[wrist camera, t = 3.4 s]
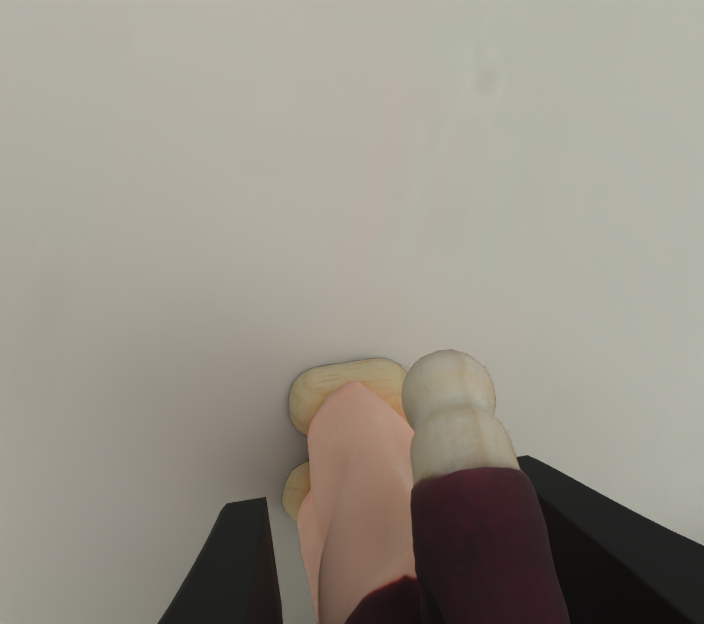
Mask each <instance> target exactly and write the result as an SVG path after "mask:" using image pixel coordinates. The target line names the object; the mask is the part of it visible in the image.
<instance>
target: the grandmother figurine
mask: <svg viewBox="0 0 704 624" xmlns="http://www.w3.org/2000/svg"><path fill="white" fill-rule="evenodd" d="M495 407H496V397H495V391H494V385H493V382H492V380H491V377H490V375H489V373H488V371H487V369H486V367H485V366H484V365H482V364H481V363H480V362H479V361H477V360H476V359H475V358H473V357H471V356H470V355H468V354H467V353H463V352H459V351H455V350H442V351H436V352H434V353H431V354H428V355H426V356H424V357H422V358H420V359H419V360H418V361H416V362H415V363H414V365H413V366H412V367H411V369H410V370H409V372H407V371H406V370H405V369H404V368H403V367H402V366H401V365H399V364H398V363H396V362H393V361H391V360H388V359H381V358H374V359H365V360H357V361H352V362H346V363H340V364H331V365H325V366H320V367H315V368H312V369H310V370H308V371H305V372H304V373H302V374H301V375H300V376H299V377H298V378H297V379H296V380H295V381H294V383H293V385H292V387H291V390H290V394H289V415H290V418H291V421H292V423H293V425H294V426H295V427H296V429H297V430H298V431H299V432H301V433H302V434H304V435H306V436H308V453H309V461H307V462H304V463H303V464H301V465H299V466H298V467H296V468H295V469H294V470H293V471H292V472H291V474H290V475H289V477H288V479H287V481H286V484H285V486H284V490H283V494H282V503H283V507H284V510H285V511H286V513H287V514H288V516H289V517H290V518H291V519H292V520H294V521H295V522H297V528H298V534H299V541H300V548H301V555H302V559H303V563H304V566H305V570H306V573H307V578H308V583H309V587H310V592H311V597H312V603H313V608H314V613H315V617H316V622H317V624H571V623H570V619H569V615H568V610H567V606H566V603H565V600H564V596H563V593H562V590H561V587H560V584H559V581H558V578H557V575H556V571H555V566H554V562H553V557H552V553H551V548H550V543H549V537H548V532H547V527H546V522H545V519H544V516H543V513H542V510H541V507H540V504H539V501H538V498H537V494H536V491H535V489H534V487H533V485H532V483H531V481H530V479H529V477H528V476H527V475H526V474H525V473H524V472H523V471H522V470H521V469H520V468H519V464H518V461H517V458H516V455H515V452H514V449H513V446H512V443H511V440H510V438H509V436H508V434H507V432H506V430H505V428H504V427H503V425H502V424H501V422H500V421H499V420H498V419H497V418H496V417H494V412H495Z"/></svg>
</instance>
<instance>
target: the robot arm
mask: <svg viewBox="0 0 704 624" xmlns="http://www.w3.org/2000/svg"><path fill="white" fill-rule="evenodd" d="M516 458H517V461H518V464H519V468H520V469H521V470H522V471H523V472H524V473H525V474H526V475H527V476H528V477H529V479H530V481H531V483H532V485H533V487H534V489H535V491H536V494H537V498H538V501H539V504H540V507H541V510H542V513H543V516H544V519H545V522H546V527H547V532H548V537H549V543H550V548H551V553H552V557H553V562H554V566H555V571H556V575H557V578H558V581H559V584H560V587H561V590H562V593H563V596H564V600H565V603H566V606H567V610H568V615H569V619H570V623H571V624H704V546H703V545H701V544H699V543H697V542H694V541H692V540H690V539H688V538H686V537H684V536H682V535H680V534H677V533H675V532H673V531H671V530H669V529H667V528H665V527H663V526H661V525H659V524H657V523H655V522H653V521H651V520H649V519H647V518H645V517H643V516H641V515H640V514H638V513H636V512H634V511H632V510H630V509H628V508H626V507H624V506H622V505H620V504H619V503H617V502H615V501H613V500H611V499H609V498H607V497H606V496H604V495H602V494H600V493H598V492H596V491H595V490H593V489H591V488H589V487H587V486H585V485H584V484H582V483H580V482H578V481H576V480H575V479H573V478H571V477H569V476H567V475H565V474H564V473H562V472H560V471H558V470H556V469H554V468H552V467H551V466H549V465H547V464H545V463H543V462H541V461H539V460H537V459H535V458H533V457H530V456H528V455H526V456H520V457H516ZM158 624H283V619H282V605H281V598H280V591H279V584H278V577H277V570H276V563H275V556H274V549H273V542H272V535H271V529H270V522H269V515H268V508H267V501H266V497H263V498H257V499H251V500H245V501H238V502H232V503H227V504H226V505H225V506H224V507H223V509H222V510H221V511H220V513H219V516H218V518H217V520H216V522H215V524H214V526H213V528H212V530H211V532H210V535H209V537H208V538H207V540H206V542H205V544H204V546H203V548H202V550H201V552H200V554H199V555H198V557H197V559H196V561H195V563H194V565H193V566H192V568H191V570H190V572H189V573H188V575H187V577H186V578H185V580H184V582H183V583H182V585H181V587H180V589H179V590H178V592H177V594H176V595H175V597H174V599H173V600H172V602H171V604H170V605H169V607H168V609H167V610H166V612H165V613H164V615H163V616H162V618H161V619H160V621H159V622H158Z"/></svg>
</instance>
